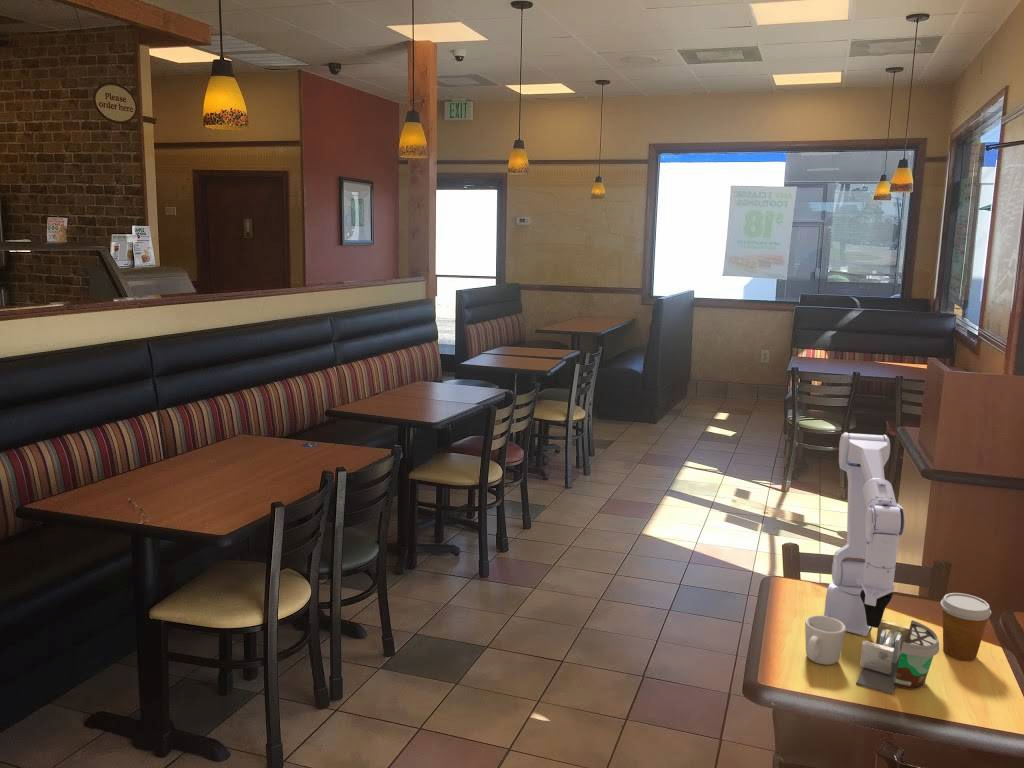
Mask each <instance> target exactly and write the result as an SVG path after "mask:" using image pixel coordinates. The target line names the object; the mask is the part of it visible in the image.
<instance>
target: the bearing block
mask: <svg viewBox="0 0 1024 768" xmlns="http://www.w3.org/2000/svg"><path fill="white" fill-rule="evenodd" d="M886 636H887V629H883V631H882V633H881V635H880V643H879V645H883V643H884V641H885V638H886ZM901 637H902V634H901V633H898V635H897V638H896V640H895V641H896V642H894V644H893V647H892V648H894V655H893V663H897V660H898V658H899V653H900V645H901Z"/></svg>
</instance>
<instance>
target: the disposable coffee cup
mask: <svg viewBox="0 0 1024 768" xmlns="http://www.w3.org/2000/svg"><path fill="white" fill-rule="evenodd" d="M940 606H941V608H942V651H943V653H944V654H945V655H946V656H948V657H949V658H952V659H955V660H958V661H962V662H971V661H975V660H976V659H977V656H978V653H979V649H980V646H981V642H982V640H983V637H984V633H985V629H986V626H987V622H988V620H989V617H990V616H991V615H992V610H991V608H990V604H989V603H988V602H987V601H986V600H984V599H982V598H980V597H978V596H975V595H971V594H967V593H961V592H950V593H947V594H945V595H944V596H943V598H942V599H941V600H940Z"/></svg>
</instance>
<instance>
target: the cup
mask: <svg viewBox="0 0 1024 768" xmlns="http://www.w3.org/2000/svg"><path fill="white" fill-rule="evenodd" d="M804 627H805V629H804V630H805V631H804V633H805V654H806V656H807V657H808V658H807V659H810V660H811V661H812V662H814V663H816V664H819V665H824V666H829V665H830V666H831V665H834V664H836V663H838V662H839V659H840V657H841V653H842V648H843V645H844V644H843V643H844V640H845V635H846V632H847V631H846V627H845V625H844V624H843V623H842V622H841V621H839V620H837V619H834V618H831V617H827V616H824V615H811V616H808V617H807V618H806V619H805V623H804Z"/></svg>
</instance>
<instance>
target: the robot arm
mask: <svg viewBox="0 0 1024 768" xmlns="http://www.w3.org/2000/svg"><path fill="white" fill-rule="evenodd" d="M838 449H839V450H838V465H839V469H840V470H842V471H844V472H846V477H847V525H846V526H847V529H846V544H845V545H843V546H842V547H840V548H839V549H837V550H836V551H835V552H834V554H833V561H832V565H831V580H832V582H830V583H829V585H828V587H827V589H826V595H825V600H824V601H825V602H824V603H825V604H824V610H823V611H824V613H823V616H827V617H831V618H834V619H837V620H839V621H841V622H842V623H843V624H844V625H845V627H846V632H849V633H852V634H855V635H859V636H863V637H866V636H868V634H869V633H870V631H871V628H874V629H875V628H876V629H878V627H879V625H880V623H881V620H883V617H884V613H885V610H886V607H887V606H888V605H889V603H890V602H891V600H892V599H893V596H894V593H893V592H894V591H895V585H894V581H895V571H896V565H897V564H896V563H897V557H898V556H897V555H898V545H899V540H900V539H899V536H900V537H901V536H903V534H904V531H905V524H906V518H905V517H906V516H905V512H904V511H905V510H904V507H903V506H901V504H900V503H897V501H896V497H895V493H894V492H895V491H894V489H893V485H892V484H891V482H890V481H889V480H887V479H886V478H885V470H884V469H885V468H884V467H885V465H886V464H887V461H888V460H889V458H890V455H891V442H890V438H889V437H888V435H886V434H882V435H881V434H870V433H869V434H867V433H852V432H851V433H850V432H849V433H848V432H847V431H845V432H843V433H842V434H841V436H840V438H839V445H838ZM846 558H851V559H846ZM856 559H862V560H856Z"/></svg>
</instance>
